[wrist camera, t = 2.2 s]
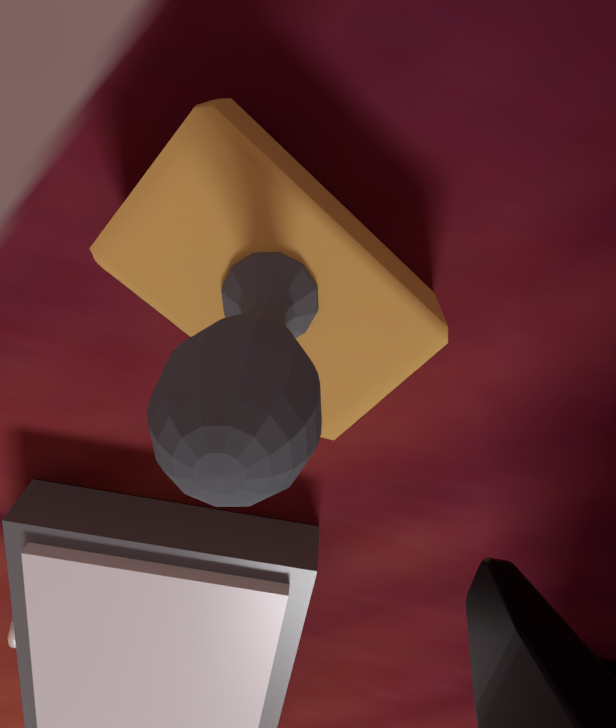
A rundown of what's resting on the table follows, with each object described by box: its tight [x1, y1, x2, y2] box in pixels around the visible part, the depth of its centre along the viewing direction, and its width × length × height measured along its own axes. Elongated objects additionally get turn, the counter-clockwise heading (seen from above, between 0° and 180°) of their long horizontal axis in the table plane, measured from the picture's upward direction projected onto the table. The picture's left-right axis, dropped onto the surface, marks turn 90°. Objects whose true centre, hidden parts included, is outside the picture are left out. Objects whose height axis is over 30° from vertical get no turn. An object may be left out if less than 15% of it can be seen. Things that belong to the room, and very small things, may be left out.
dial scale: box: [2, 479, 319, 728], centre depth 28 cm, size 14×16×3 cm
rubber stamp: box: [90, 98, 448, 507], centre depth 15 cm, size 10×6×12 cm, turn 48°
